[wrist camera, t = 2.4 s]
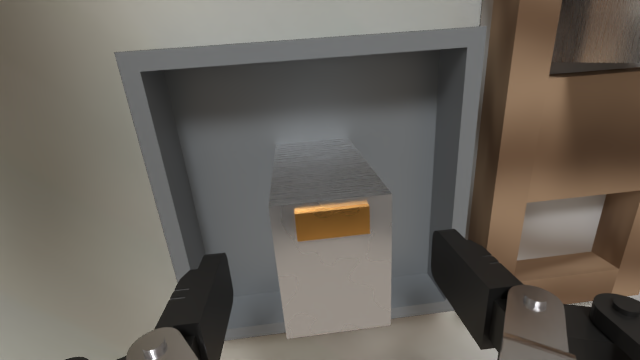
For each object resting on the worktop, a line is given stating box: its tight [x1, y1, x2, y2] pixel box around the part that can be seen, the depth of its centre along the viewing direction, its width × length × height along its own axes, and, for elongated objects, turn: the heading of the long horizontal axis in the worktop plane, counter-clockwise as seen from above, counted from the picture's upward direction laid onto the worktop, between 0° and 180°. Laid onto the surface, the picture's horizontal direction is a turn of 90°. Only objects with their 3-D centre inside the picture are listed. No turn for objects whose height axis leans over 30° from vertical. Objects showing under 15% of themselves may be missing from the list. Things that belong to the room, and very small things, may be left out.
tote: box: [114, 26, 487, 341], centre depth 18 cm, size 16×16×4 cm
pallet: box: [465, 0, 640, 304], centre depth 18 cm, size 22×11×3 cm, turn 4°
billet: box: [268, 138, 392, 339], centre depth 15 cm, size 4×6×8 cm
